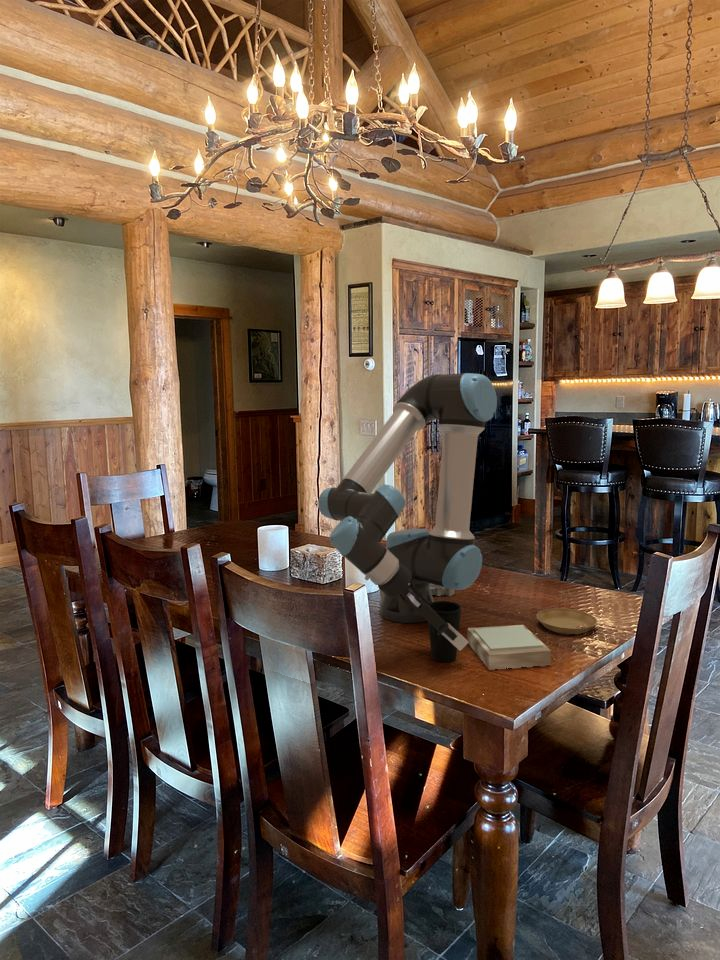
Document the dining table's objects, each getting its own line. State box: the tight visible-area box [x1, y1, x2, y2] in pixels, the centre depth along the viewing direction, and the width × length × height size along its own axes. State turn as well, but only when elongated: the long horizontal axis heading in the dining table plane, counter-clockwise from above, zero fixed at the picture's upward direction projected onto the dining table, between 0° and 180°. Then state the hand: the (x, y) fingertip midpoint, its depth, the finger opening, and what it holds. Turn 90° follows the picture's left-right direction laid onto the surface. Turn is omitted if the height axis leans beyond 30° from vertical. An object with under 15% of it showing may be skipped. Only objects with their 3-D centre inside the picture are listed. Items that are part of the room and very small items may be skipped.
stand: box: [466, 624, 552, 671], centre depth 150 cm, size 16×14×4 cm
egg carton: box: [429, 583, 456, 597], centre depth 195 cm, size 11×8×4 cm
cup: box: [427, 600, 462, 663], centre depth 147 cm, size 8×8×12 cm
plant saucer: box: [536, 607, 598, 635], centre depth 166 cm, size 15×15×3 cm
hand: (458, 638), depth 148 cm, fingers closed on cup, 8 cm apart
